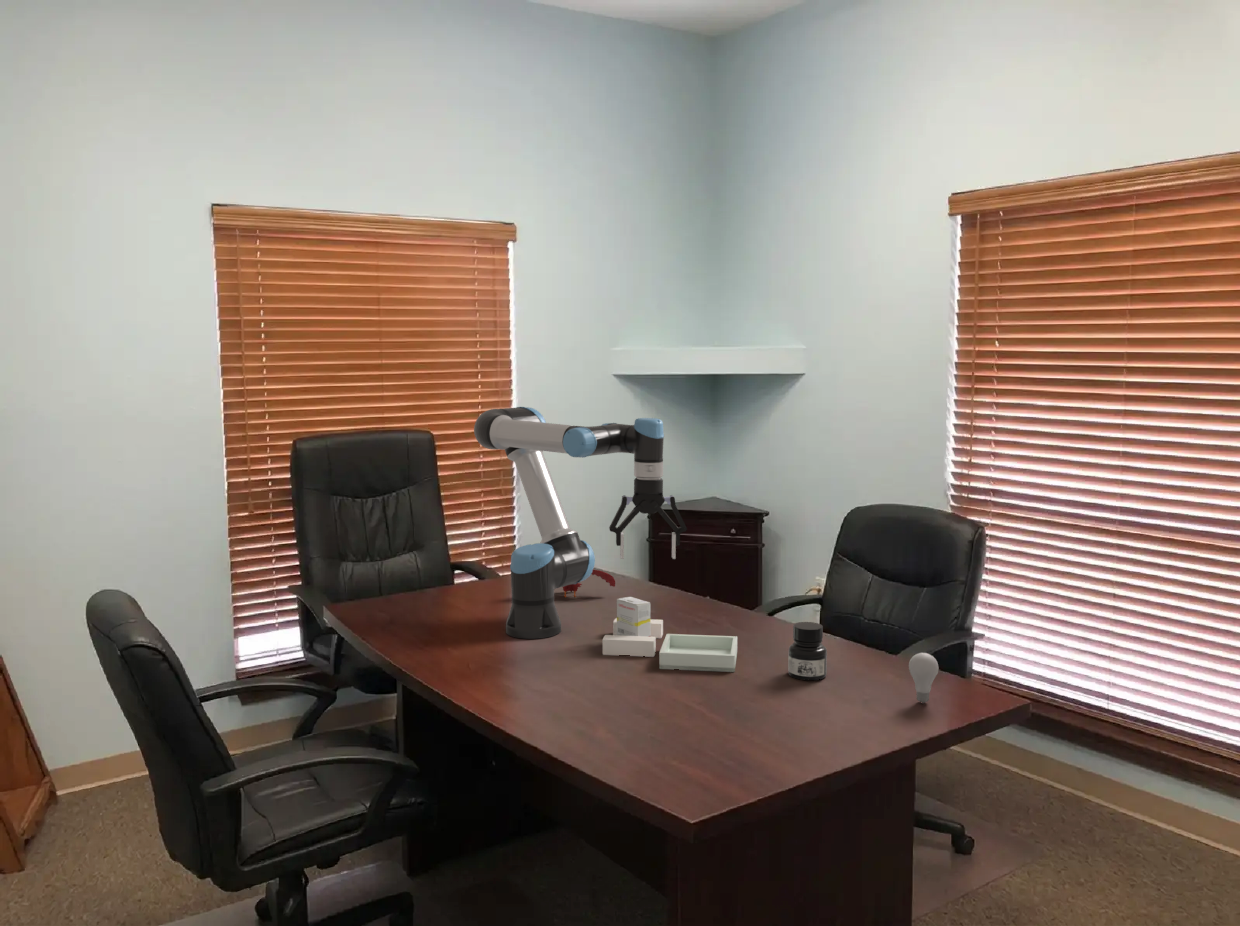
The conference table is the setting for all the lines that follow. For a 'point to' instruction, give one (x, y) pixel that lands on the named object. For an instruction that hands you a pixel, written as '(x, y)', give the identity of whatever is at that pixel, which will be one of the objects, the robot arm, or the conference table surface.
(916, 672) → the lightbulb
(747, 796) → the conference table surface
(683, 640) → the pale green tray
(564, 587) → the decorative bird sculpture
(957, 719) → the conference table surface
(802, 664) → the ink bottle
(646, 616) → the ink box
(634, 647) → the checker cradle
